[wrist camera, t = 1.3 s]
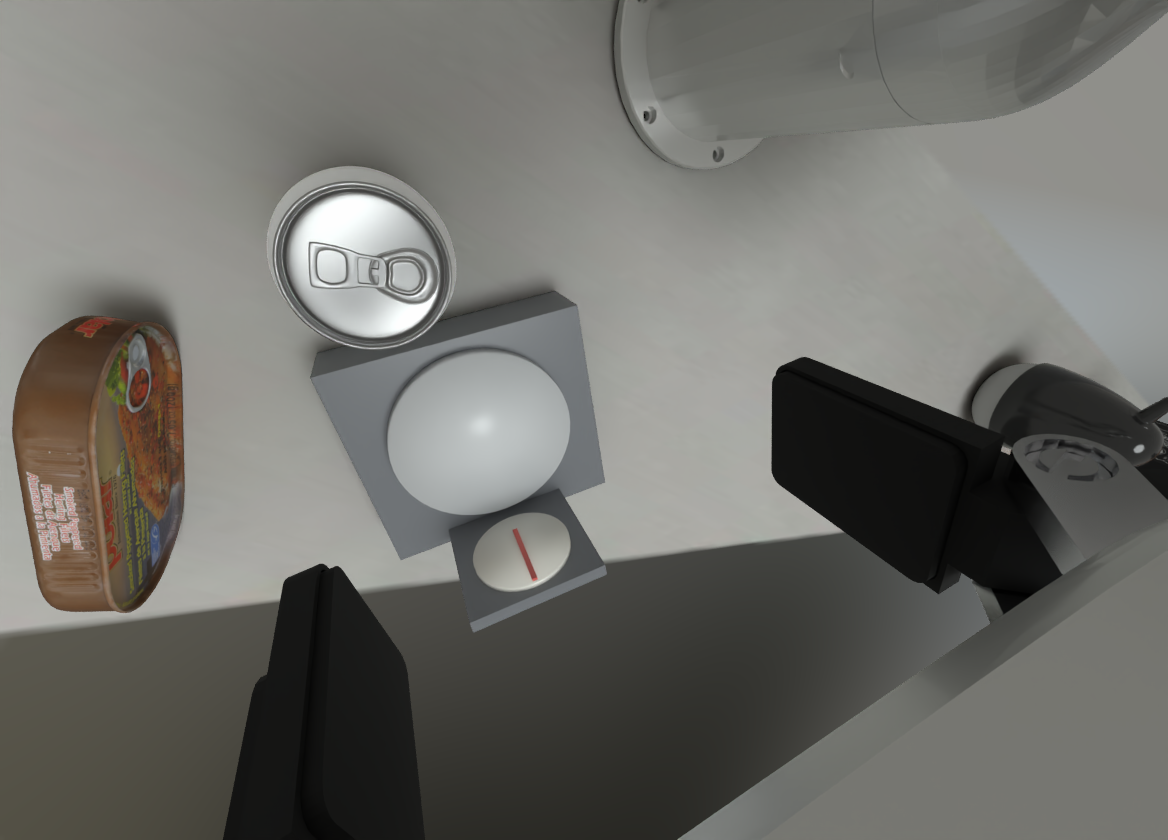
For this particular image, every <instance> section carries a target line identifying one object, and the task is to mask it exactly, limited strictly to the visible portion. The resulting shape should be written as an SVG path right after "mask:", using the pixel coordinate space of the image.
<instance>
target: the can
mask: <svg viewBox="0 0 1168 840" xmlns="http://www.w3.org/2000/svg"><path fill="white" fill-rule="evenodd" d="M266 248H267V259H268V264H269V268H270V272H271V275H272V277H273V280H274V282H275V285H276V287H277V289H278V290H279V292H280V294H281V295H282V297H283V298H284V300H285V301H286V303H287V304H288V305H289V306H290V308H291V309H292V310H293V311H294V312H295V313H296V315H297V316H298V317H299V318H300V319H301V320H302V321H303V322H304V323H305V324H307V325H308V326H309V327H310V328H311V329H313V330H314V331H316V332H317V333H319V334H320V335H322V336H324V337H325V338H327V339H329V340H331V341H334V342H336V343H339V344H341V345H344V346H348V347H352V348H357V349H363V350H384V349H391V348H395V347H399V346H402V345H405V344H407V343H410V342H412V341H414V340H416V339H417V338H419V337H420V336H422V335H423V334H425V333H426V332H427V331H428V330H429V329H430V328H431V327H432V326H433V325H434V324H435V323H436V322H437V321H438V319H439V318H440V317H441V316H442V314H443V313H444V311H445V310H446V308H447V306H448V304H449V302H450V300H451V297H452V295H453V291H454V287H455V282H456V257H455V252H454V247H453V244H452V241H451V238H450V235H449V233H448V230H447V228H446V226H445V225H444V223H443V221H442V219H441V218H440V216H439V215H438V213H437V212H436V211H435V209H434V208H433V207H432V206H431V205H430V203H429V202H428V201H427V200H426V199H425V198H424V197H423V196H422V195H420V194H419V193H418V192H417V191H416V190H414V189H413V188H412V187H410V186H409V185H408V184H406V183H404V182H403V181H401V180H399V179H397V178H396V177H394V176H391V175H389V174H387V173H384V172H382V171H379V170H375V169H371V168H366V167H359V166H341V167H334V168H329V169H325V170H321V171H318V172H316V173H313V174H311V175H309V176H307V177H306V178H304V179H302V180H301V181H299V182H298V183H296V184H295V185H294V186H293V187H292V188H290V189H289V190H288V191H287V193H286V194H285V195H284V196H283V197H282V199H281V200H280V201H279V203H278V205H277V206H276V208H275V210H274V212H273V215H272V217H271V220H270V223H269V227H268V232H267V242H266Z"/></svg>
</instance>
